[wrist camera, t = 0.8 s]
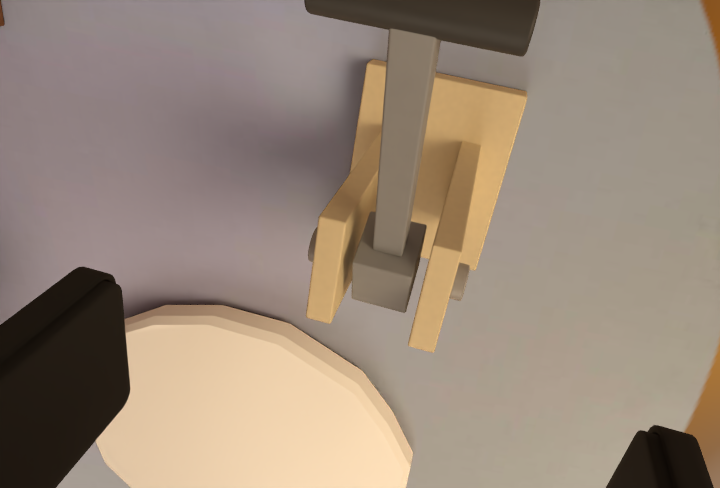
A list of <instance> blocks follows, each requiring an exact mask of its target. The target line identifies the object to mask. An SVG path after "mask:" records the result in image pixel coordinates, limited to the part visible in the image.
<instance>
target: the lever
mask: <svg viewBox="0 0 720 488" xmlns="http://www.w3.org/2000/svg"><path fill="white" fill-rule="evenodd" d="M304 1H305V7H306V10H307V11H308V12H309V13H310V14H314V15H319V16H324V17H329V18H334V19H339V20H344V21H349V22H353V23H358V24H363V25H368V26H373V27H378V28H383V29H388V30H389V37H388V50H387V64H386V77H385V91H384V104H383V118H382V131H381V145H380V158H379V172H378V185H377V198H376V212H372V211H371V212H370V213H369V216H368V219H367V222H366V225H365V228H364V230H363V233H362V236H361V239H360V242H359V245H358V247H357V250H356V253H355V256H354V259H353V262H352V299H355V300H359V301H362V302H366V303H370V304H373V305H377V306H381V307H384V308H388V309H392V310H396V311H399V312H403V313H405V312H406V309H407V306H408V302H409V299H410V295H411V291H412V288H413V284H414V280H415V277H416V273H417V270H418V266H419V262H420V257H421V252H422V248H423V243H424V238H425V233H426V229H427V226H426V225H425V224H421V223H417V222H413V221H411V217H412V211H413V205H414V199H415V193H416V187H417V181H418V175H419V169H420V163H421V157H422V151H423V145H424V138H425V132H426V126H427V120H428V114H429V108H430V102H431V96H432V90H433V84H434V78H435V72H436V66H437V60H438V54H439V48H440V42H441V40H442V41H447V42H452V43H457V44H462V45H467V46H472V47H477V48H481V49H486V50H491V51H496V52H501V53H506V54H511V55H516V56H524V55H525V54H526V52H527V49H528V46H529V43H530V40H531V37H532V34H533V30H534V27H535V23H536V19H537V15H538V11H539V6H540V0H304Z"/></svg>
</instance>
